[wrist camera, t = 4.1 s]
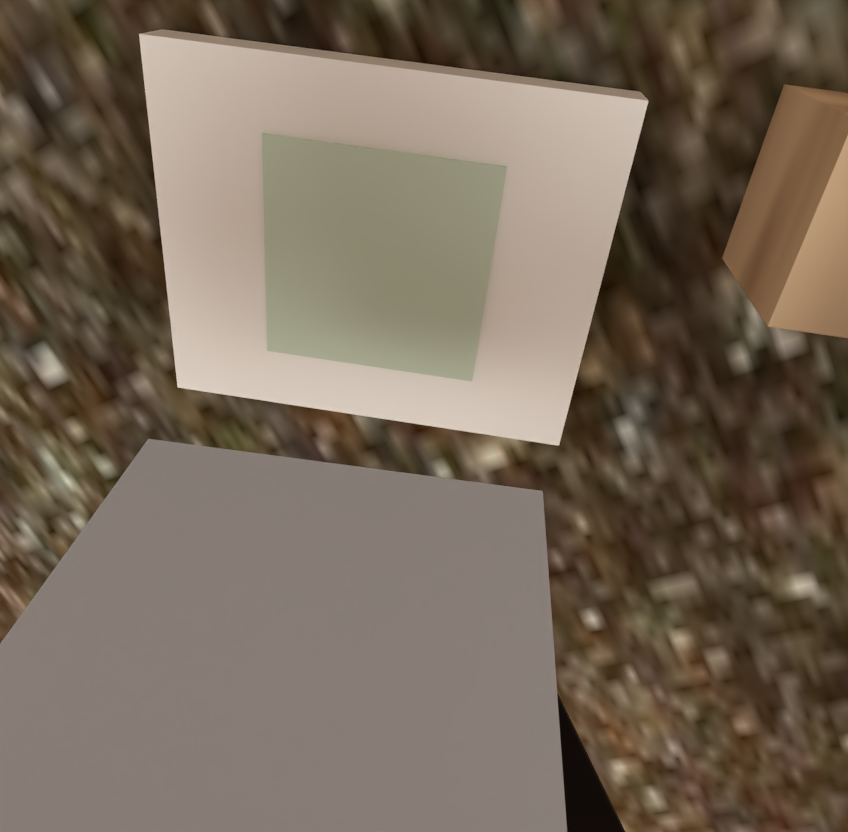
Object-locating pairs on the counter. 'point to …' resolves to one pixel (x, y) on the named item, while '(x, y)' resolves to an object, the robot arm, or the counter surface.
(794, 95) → the brown cube
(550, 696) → the grey cube
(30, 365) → the counter surface
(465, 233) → the plate
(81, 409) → the counter surface
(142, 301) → the counter surface
